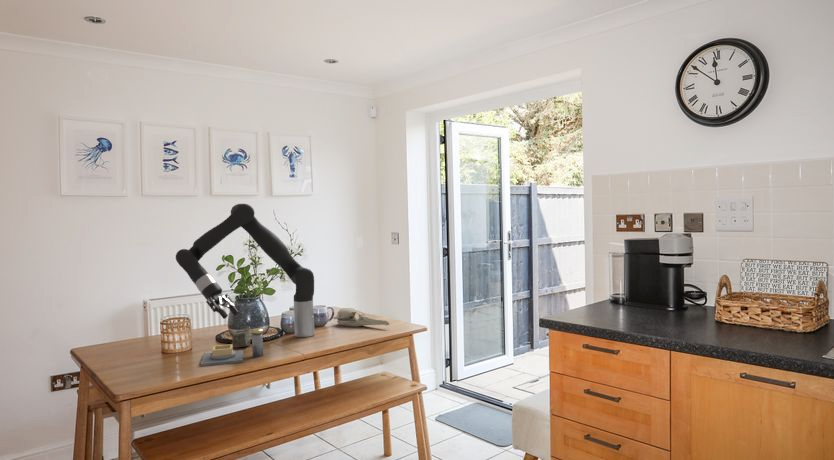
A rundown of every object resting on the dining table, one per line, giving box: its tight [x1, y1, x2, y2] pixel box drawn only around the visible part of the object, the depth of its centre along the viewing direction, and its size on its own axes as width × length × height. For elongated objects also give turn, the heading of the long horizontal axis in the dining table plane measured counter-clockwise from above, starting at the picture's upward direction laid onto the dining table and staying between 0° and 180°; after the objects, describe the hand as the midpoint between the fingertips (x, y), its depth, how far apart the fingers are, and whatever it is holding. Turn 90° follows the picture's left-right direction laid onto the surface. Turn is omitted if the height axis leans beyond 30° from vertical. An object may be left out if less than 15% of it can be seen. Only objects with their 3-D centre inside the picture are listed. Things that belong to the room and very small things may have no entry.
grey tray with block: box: [200, 343, 245, 367], centre depth 225 cm, size 16×16×5 cm
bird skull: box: [333, 307, 390, 328], centre depth 280 cm, size 8×32×10 cm, turn 62°
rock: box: [231, 326, 252, 348], centre depth 248 cm, size 17×7×10 cm
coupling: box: [250, 327, 264, 358], centre depth 228 cm, size 5×5×11 cm
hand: (231, 315), depth 230 cm, fingers open, 8 cm apart
